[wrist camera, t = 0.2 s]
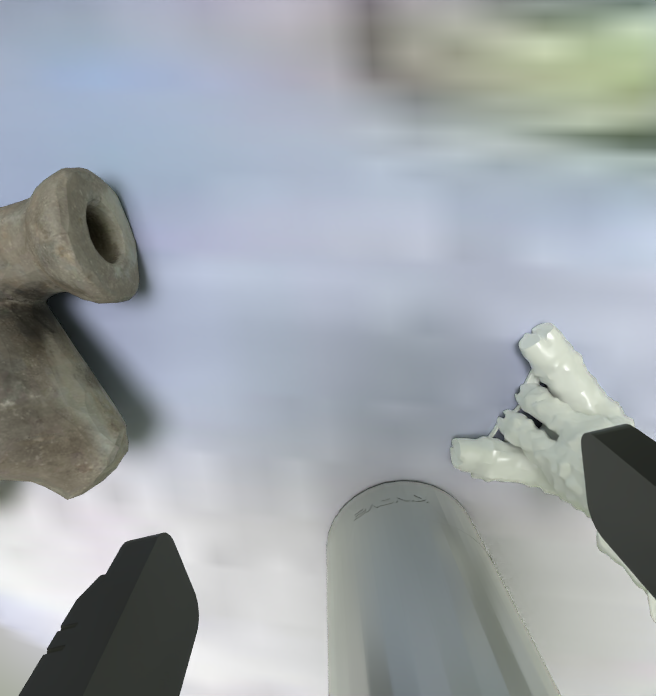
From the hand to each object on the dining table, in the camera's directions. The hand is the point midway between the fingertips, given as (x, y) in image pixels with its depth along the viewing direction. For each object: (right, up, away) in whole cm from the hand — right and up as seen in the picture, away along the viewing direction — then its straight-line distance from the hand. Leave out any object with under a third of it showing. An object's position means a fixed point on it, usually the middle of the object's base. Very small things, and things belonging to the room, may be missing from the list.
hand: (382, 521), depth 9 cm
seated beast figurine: (+12, -1, +19) cm, 22 cm away
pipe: (-16, +3, +17) cm, 24 cm away
